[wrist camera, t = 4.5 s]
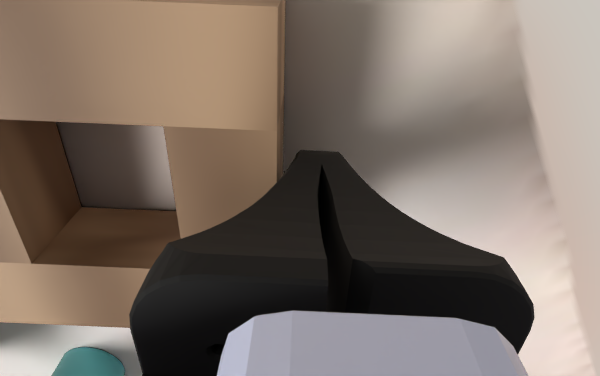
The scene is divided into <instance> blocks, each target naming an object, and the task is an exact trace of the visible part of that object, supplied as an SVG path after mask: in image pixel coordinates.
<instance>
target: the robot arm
mask: <svg viewBox="0 0 600 376" xmlns="http://www.w3.org/2000/svg"><path fill="white" fill-rule="evenodd" d="M129 319H130V329H131V333H132V337H133V340H134V344H135V348H136V351H137V355H138V358H139V362H140V366H141V369H142V373H143V374H142V376H528V374H527V372H526V370H525V368H524V366H523V364H522V362H521V360H520V358H519V356H518V353H519V351H520V349H521V348H522V346H523V344H524V342H525V340H526V338H527V336H528V334H529V332H530V330H531V327H532V323H533V320H534V307H533V303H532V301H531V299H530V298H529V296H528V294H527V292H526V291H525V289H524V287H523V286H522V284H521V282H520V280H519V279H518V277H517V275H516V274H515V273H514V271H513V270H512V268H511V267H510V265H509V264H508V263H507V261H506V260H505V259H504V258H503V257H501V256H498V255H495V254H492V253H489V252H486V251H483V250H480V249H477V248H474V247H472V246H469V245H466V244H463V243H461V242H458V241H456V240H454V239H452V238H449V237H447V236H445V235H442V234H440V233H438V232H436V231H434V230H432V229H430V228H428V227H426V226H425V225H423V224H421V223H419V222H417V221H416V220H414V219H412V218H410V217H409V216H407V215H406V214H404V213H403V212H401V211H400V210H398V209H397V208H395V207H394V206H393V205H391V204H390V203H388V202H387V201H386V200H385V199H383V198H382V197H381V196H380V195H379V194H377V193H376V192H375V191H374V190H373V189H372V188H371V187H370V186H369V185H368V184H367V183H366V182H365V181H364V180H363V179H362V178H361V177H360V176H359V175H358V174H357V173H356V172H355V171H354V169H353V168H352V167H351V166H350V165H349V164H348V162H347V161H346V160H345V159H344V157H343V156H342V155H341V154H340V153H339V152H328V151H307V150H300V151H299V152H298V153H297V154H296V157H295V159H294V160H293V162H292V163H291V165H290V166H289V168H288V169H287V170H286V172H285V173H284V174H283V176H282V177H281V178H280V179H279V180H278V181H277V183H276V184H275V185H274V186H273V187H272V188H271V189H270V190H269V191H268V192H267V193H266V194H265V195H264V196H263V197H261V198H260V199H259V200H258V201H257V202H255V203H254V204H253V205H252V206H250V207H249V208H247V209H245V210H244V211H242V212H240V213H239V214H237V215H236V216H234V217H232V218H230V219H229V220H227V221H225V222H223V223H221V224H218V225H216V226H214V227H212V228H209V229H207V230H205V231H202V232H200V233H197V234H194V235H191V236H188V237H185V238H182V239H179V240H176V241H172V242H169V243H168V244H167V245H166V246H165V248H164V249H163V251H162V252H161V254H160V255H159V256H158V258H157V259H156V261H155V262H154V264H153V265H152V267H151V269H150V270H149V272H148V274H147V276H146V278H145V280H144V282H143V284H142V286H141V288H140V290H139V292H138V294H137V296H136V298H135V300H134V302H133V305H132V308H131V311H130V314H129Z"/></svg>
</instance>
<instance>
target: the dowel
mask: <svg viewBox="0 0 600 376" xmlns="http://www.w3.org/2000/svg"><path fill="white" fill-rule="evenodd" d="M124 374H125V369H124V366H123V365H122V363H121V362H120V361H119V360H118V359H117V358H116V357H114V356H113V355H111V354H109V353H108V352H105V351H103V350H99V349H96V348H89V347H80V348H74V349H71V350H69V351H68V352H66V353H65V355H64V356H63V358H62V359H61V361H60V363H59V364H58V366H57V368H56V369H55V371H54V373H53V374H52V376H124Z"/></svg>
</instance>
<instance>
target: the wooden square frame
mask: <svg viewBox="0 0 600 376" xmlns="http://www.w3.org/2000/svg"><path fill="white" fill-rule="evenodd" d="M284 63H285V0H0V322H8V323H31V324H54V325H78V326H101V327H125V328H130V319H129V314H130V311H131V308H132V305H133V302H134V300H135V298H136V296H137V294H138V292H139V290H140V288H141V286H142V284H143V282H144V280H145V278H146V276H147V274H148V272H149V270H150V269H151V267H152V265H153V264H154V262H155V261H156V259H157V258H158V256H159V255H160V254H161V252H162V251H163V249H164V248H165V246H166V245H167V244H168V243H169V242H172V241H176V240H179V239H182V238H185V237H188V236H191V235H194V234H197V233H200V232H202V231H205V230H207V229H209V228H212V227H214V226H216V225H218V224H221V223H223V222H225V221H227V220H229V219H230V218H232V217H234V216H236V215H237V214H239V213H240V212H242V211H244V210H245V209H247V208H249V207H250V206H252V205H253V204H254V203H255V202H257V201H258V200H259V199H260V198H261V197H263V196H264V195H265V194H266V193H267V192H268V191H269V190H270V189H271V188H272V187H273V186H274V185H275V184H276V183H277V181H278V180H279V179H280V178H281V177H282V176H283V128H284ZM56 122H77V123H100V124H124V125H147V126H163V127H164V134H165V140H166V147H167V153H168V160H169V166H170V173H171V179H172V186H173V192H174V199H175V205H176V211H157V210H134V209H110V208H87V207H81V204H80V201H79V198H78V194H77V191H76V188H75V185H74V181H73V178H72V175H71V171H70V168H69V165H68V162H67V158H66V155H65V152H64V148H63V145H62V142H61V139H60V135H59V132H58V129H57V126H56Z"/></svg>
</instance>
